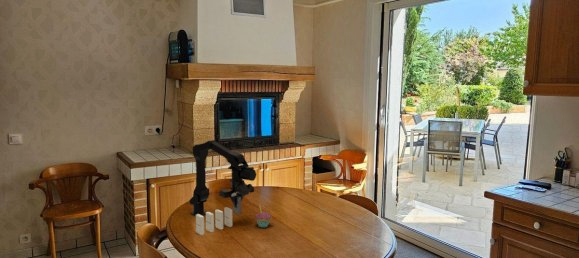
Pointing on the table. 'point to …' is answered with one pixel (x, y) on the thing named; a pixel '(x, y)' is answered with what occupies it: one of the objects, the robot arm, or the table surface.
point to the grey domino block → (238, 207)
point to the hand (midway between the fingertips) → (237, 207)
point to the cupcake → (263, 218)
